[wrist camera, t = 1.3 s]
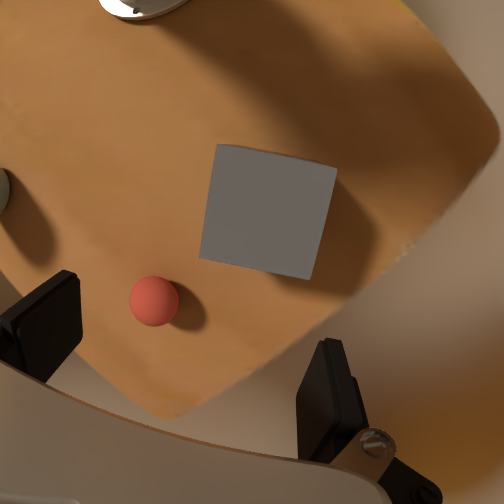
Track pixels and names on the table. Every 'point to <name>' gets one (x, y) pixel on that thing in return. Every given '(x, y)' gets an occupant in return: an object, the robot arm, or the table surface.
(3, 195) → the cup
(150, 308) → the ball
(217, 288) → the table surface
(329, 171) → the matte gray cube
